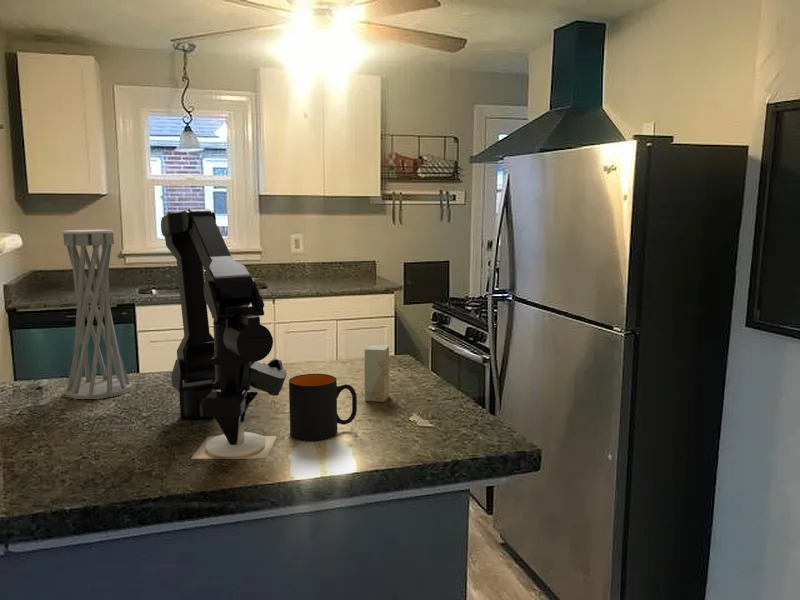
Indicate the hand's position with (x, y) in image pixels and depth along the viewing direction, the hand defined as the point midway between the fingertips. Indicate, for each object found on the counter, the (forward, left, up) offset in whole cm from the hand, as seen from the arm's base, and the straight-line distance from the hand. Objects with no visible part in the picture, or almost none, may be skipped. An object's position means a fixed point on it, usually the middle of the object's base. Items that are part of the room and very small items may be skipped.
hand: (235, 440), depth 108 cm
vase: (-38, +35, -2) cm, 52 cm away
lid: (0, 0, -1) cm, 1 cm away
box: (+23, +29, -2) cm, 37 cm away
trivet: (0, 0, -2) cm, 2 cm away
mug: (+14, +7, -2) cm, 16 cm away
